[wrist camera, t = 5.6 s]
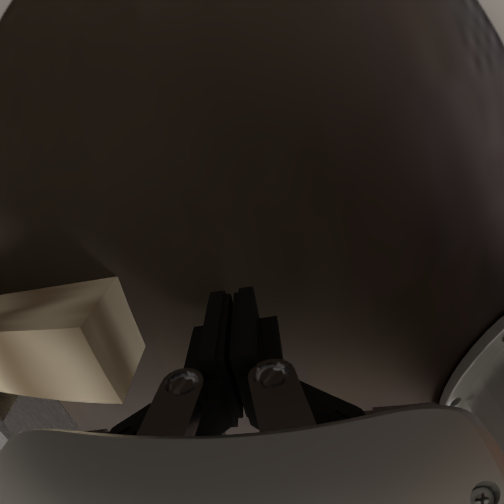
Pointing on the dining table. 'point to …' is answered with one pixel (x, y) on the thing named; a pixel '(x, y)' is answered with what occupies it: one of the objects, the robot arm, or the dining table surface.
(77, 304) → the bar
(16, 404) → the housing
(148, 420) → the robot arm
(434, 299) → the dining table surface
